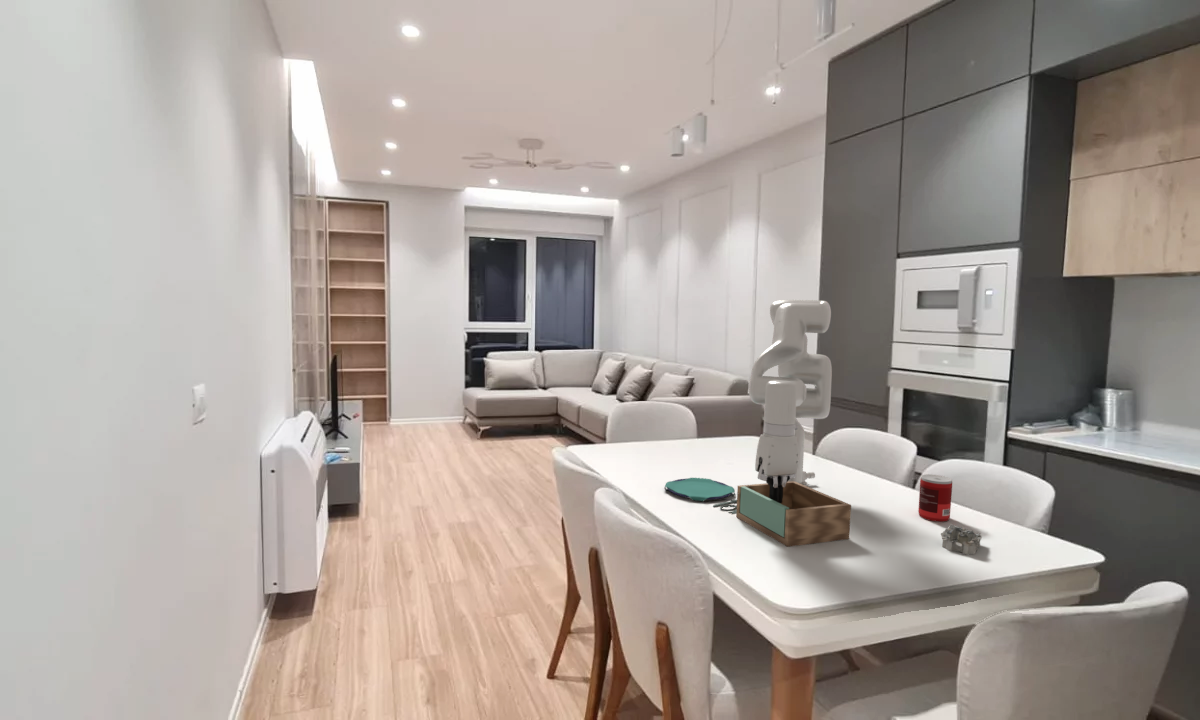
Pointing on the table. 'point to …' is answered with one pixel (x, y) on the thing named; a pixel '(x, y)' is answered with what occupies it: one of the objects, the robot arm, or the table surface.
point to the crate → (805, 515)
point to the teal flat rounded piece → (702, 490)
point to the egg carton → (961, 540)
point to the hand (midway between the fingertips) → (775, 501)
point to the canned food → (935, 497)
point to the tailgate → (763, 510)
